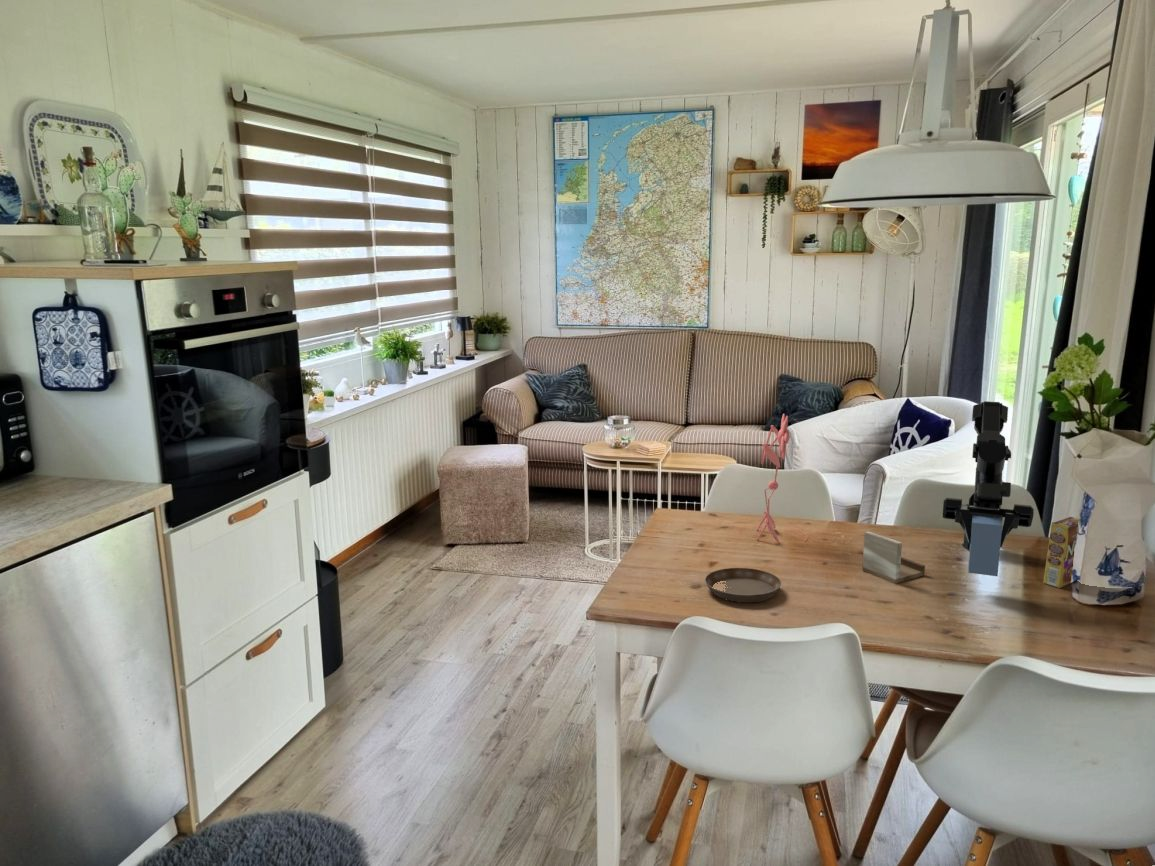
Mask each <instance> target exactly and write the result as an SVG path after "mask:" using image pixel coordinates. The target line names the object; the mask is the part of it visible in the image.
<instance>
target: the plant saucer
mask: <svg viewBox="0 0 1155 866" xmlns="http://www.w3.org/2000/svg"><path fill="white" fill-rule="evenodd" d="M720 581H726V583H725V582H723V583H722V584H726V585H727V586H726V585H725V587H726V588H725V590H726V591H725V592H724V590H723V591H720V590H717V589H714V588H712V587H713V585H714V584H715V583H717V582H720ZM704 583H705V584H706V586H707V588H708V589H709V590H710V591H711V592H712V594H714V595H715V596H716V595H717V596H716V597H718V596H719V597H718V598H720V597H721V598H720V599H722V598H724V599H723V600H725V599H727V600H726V601H728V600H731V601H730V602H733V601H737V602H736V603H741V602H752V603H758V602H765V601H767V600H769V599H770V598H772V597H773V596H774V595H775V594H776V593H777V592H778V591H779V589H780V587H781V586H782V581H781V579H780V578H779V577H778V576H777V575H775V574H773V573H771V572H769V571H765V570H761V569H756V568H749V567H729V568H728V567H727V568H721V569H718V570H714V571H711V572H709V573H708V574H706V575H705V578H704ZM717 584H718V583H717ZM720 584H721V583H720ZM727 587H728V588H727ZM730 587H731V588H730ZM723 589H724V588H723Z"/></svg>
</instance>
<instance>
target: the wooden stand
mask: <svg viewBox="0 0 1155 866" xmlns="http://www.w3.org/2000/svg"><path fill="white" fill-rule="evenodd" d="M863 539H864V540H863V554H862V555H863V556H862V570H861V571H862V572H865V573H867V574H870V575H872V576H875V577H877V578H880V579H883V580H885V581H888V582H890V583H893V584H899V583H901V582H905V581H909V580H912V579H916V578H919V577H922V576H925V571H926V565H925V564H923V563H920V562H916V561H914V560H911V559H909V558H907V557H903V556H902V548H903V542H901V541H898V540H895V539H892V538H889V537H887V536H883V535H881V534H877V533H875V532H871V531H865V532H864V535H863Z"/></svg>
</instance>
